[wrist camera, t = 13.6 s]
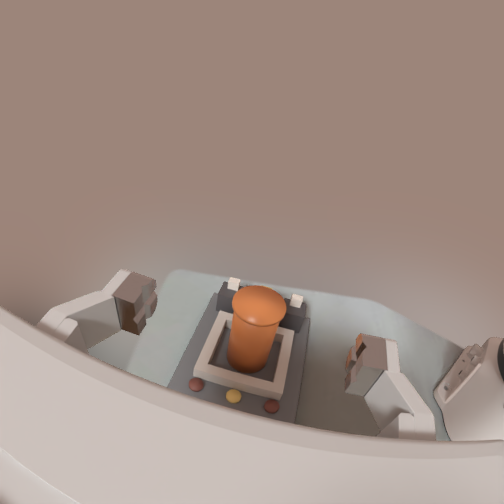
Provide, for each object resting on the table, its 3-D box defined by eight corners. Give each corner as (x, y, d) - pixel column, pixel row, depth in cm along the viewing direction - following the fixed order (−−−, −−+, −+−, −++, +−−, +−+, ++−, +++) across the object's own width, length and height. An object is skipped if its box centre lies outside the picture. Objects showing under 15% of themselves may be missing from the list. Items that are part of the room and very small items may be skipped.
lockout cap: (244, 332, 39) (256, 278, 34) (278, 357, 37) (296, 305, 32) (214, 355, 36) (221, 301, 31) (249, 383, 33) (263, 333, 28)
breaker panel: (213, 297, 45) (217, 269, 43) (307, 323, 44) (318, 296, 41) (146, 436, 26) (139, 414, 23) (282, 476, 25) (297, 461, 22)
